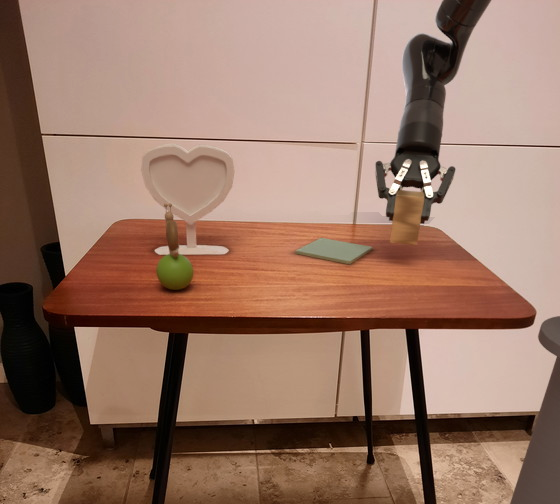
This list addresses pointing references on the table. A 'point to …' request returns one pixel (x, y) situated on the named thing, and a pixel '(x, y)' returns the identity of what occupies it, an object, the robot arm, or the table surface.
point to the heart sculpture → (188, 186)
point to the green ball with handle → (173, 259)
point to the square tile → (334, 250)
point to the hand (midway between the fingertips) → (407, 219)
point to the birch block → (407, 217)
